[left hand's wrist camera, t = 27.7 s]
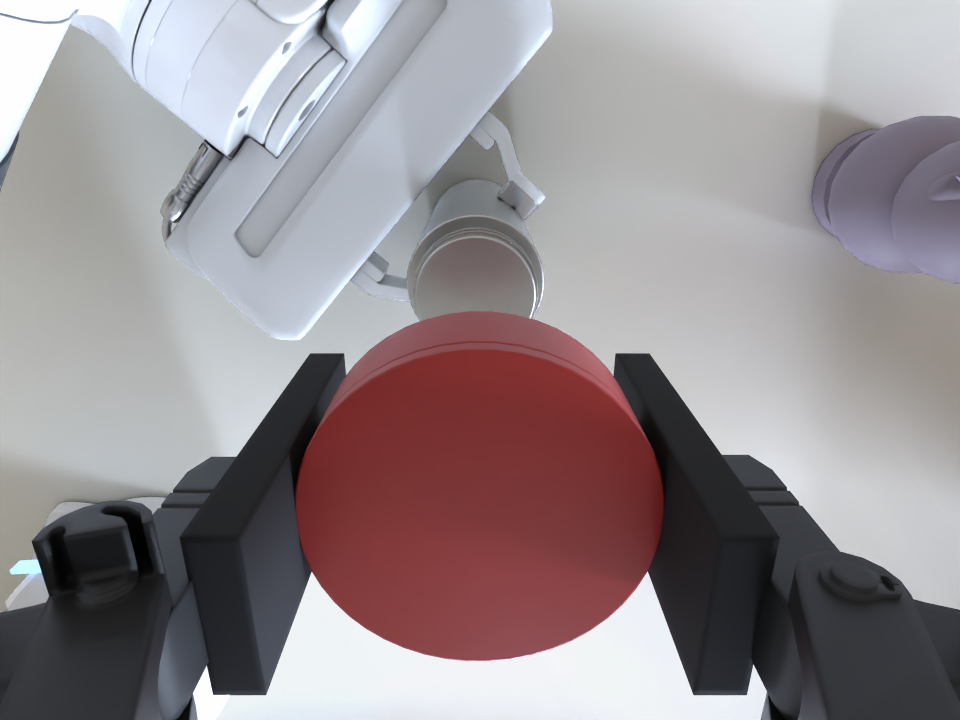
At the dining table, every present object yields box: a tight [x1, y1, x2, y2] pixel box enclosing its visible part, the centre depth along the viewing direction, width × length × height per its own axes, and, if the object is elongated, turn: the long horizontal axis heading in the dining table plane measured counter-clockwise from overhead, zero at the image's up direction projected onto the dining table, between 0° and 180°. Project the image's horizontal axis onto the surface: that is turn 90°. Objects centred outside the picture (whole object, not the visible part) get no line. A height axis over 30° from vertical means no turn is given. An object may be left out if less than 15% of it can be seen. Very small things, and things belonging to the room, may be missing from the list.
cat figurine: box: [812, 116, 960, 284], centre depth 31 cm, size 9×8×12 cm
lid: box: [295, 311, 664, 661], centre depth 11 cm, size 6×6×2 cm
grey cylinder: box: [407, 179, 544, 321], centre depth 30 cm, size 5×5×16 cm
